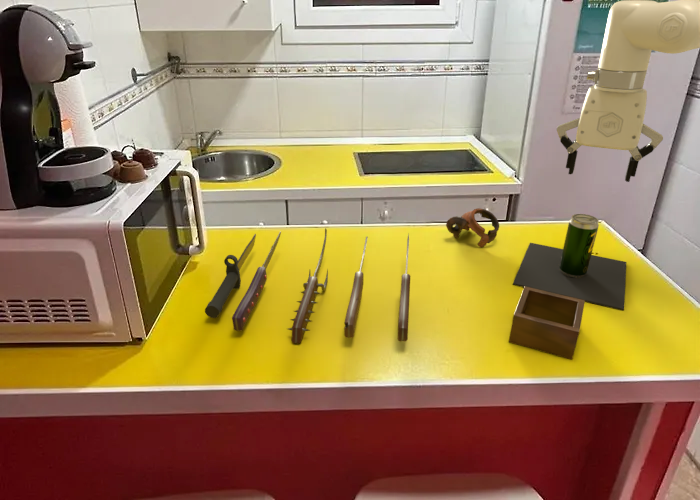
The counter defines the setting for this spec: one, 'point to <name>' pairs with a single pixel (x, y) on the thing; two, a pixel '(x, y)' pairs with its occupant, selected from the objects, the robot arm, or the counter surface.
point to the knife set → (309, 295)
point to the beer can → (578, 245)
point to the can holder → (547, 322)
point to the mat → (595, 287)
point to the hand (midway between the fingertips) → (598, 175)
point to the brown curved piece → (474, 225)
